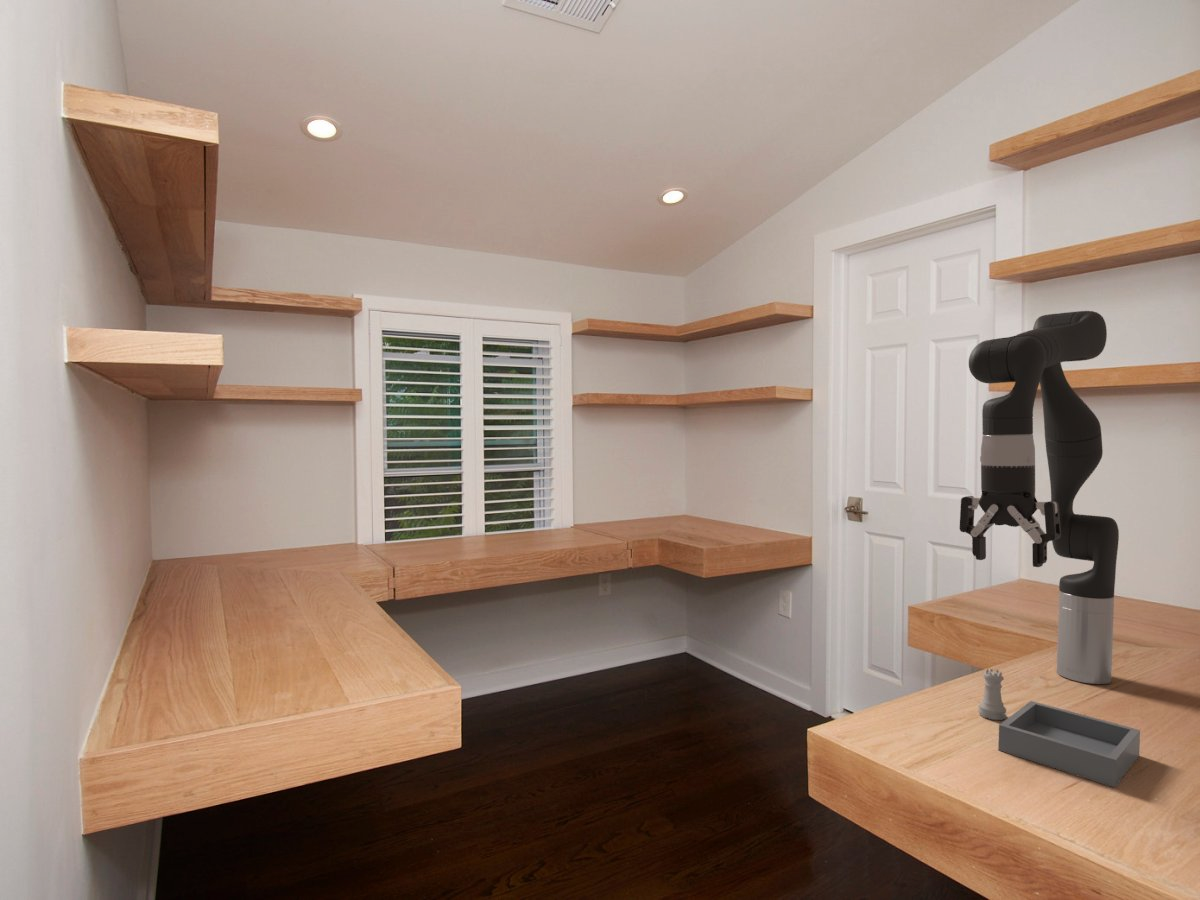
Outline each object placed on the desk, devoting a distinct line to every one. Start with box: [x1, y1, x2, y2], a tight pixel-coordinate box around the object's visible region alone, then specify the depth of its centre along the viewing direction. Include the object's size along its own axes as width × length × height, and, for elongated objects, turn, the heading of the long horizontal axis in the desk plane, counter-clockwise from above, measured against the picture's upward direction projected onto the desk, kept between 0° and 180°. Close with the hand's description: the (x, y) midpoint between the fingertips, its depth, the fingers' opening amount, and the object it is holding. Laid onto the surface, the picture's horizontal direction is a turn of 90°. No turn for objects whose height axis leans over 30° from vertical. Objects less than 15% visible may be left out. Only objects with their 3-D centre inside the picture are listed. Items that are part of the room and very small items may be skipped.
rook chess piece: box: [977, 668, 1008, 721], centre depth 121 cm, size 4×4×8 cm
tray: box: [998, 700, 1141, 789], centre depth 108 cm, size 15×15×4 cm
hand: (1008, 562), depth 112 cm, fingers open, 8 cm apart
